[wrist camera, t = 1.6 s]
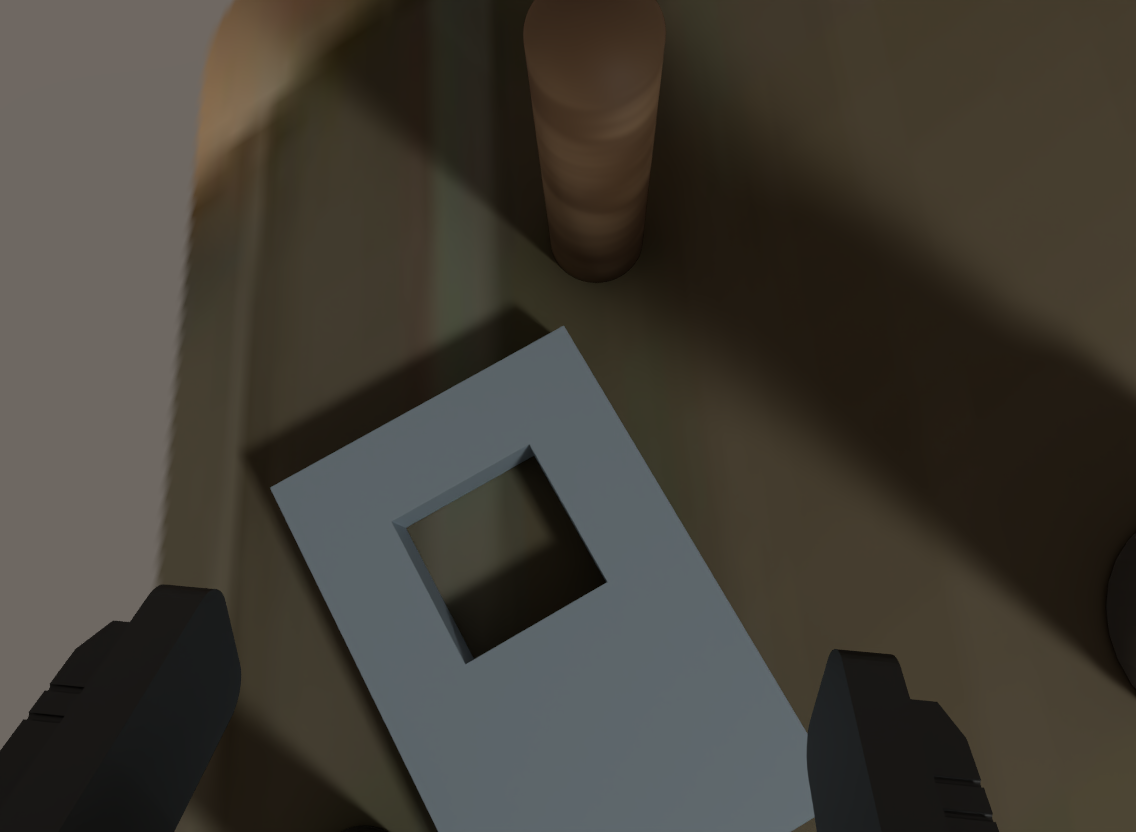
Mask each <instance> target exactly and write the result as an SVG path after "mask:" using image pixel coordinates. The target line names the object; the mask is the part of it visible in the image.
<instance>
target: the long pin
mask: <svg viewBox="0 0 1136 832" xmlns="http://www.w3.org/2000/svg"><path fill="white" fill-rule="evenodd" d="M665 38H666V26H665V20H664V16H663V13H662V11H661V8H660V6H659V4H658V3H657V1H656V0H534V2H533V3H532V5H531V7H530V8H529V10H528V13H527V15H526V18H525V22H524V29H523V41H524V49H525V56H526V64H527V71H528V78H529V86H530V93H531V101H532V108H533V115H534V123H535V130H536V138H537V145H538V153H539V160H540V167H541V175H542V182H543V190H544V197H545V204H546V212H547V219H548V227H549V234H550V241H551V248H552V252H553V255H554V257H555V259H556V261H557V262H558V264H559V265H560V267H561V268H562V269H563V270H564V271H566V272H567V273H568V274H569V275H571V276H573V277H575V278H577V279H579V280H582V281H586V282H593V283H599V282H607V281H610V280H613V279H616V278H618V277H620V276H622V275H623V274H625V273H626V272H627V271H628V270H629V269H630V268H631V267H632V266H633V265H634V264H635V262H636V261H637V259H638V257H639V255H640V252H641V248H642V242H643V233H644V225H645V216H646V207H647V198H648V189H649V180H650V171H651V163H652V154H653V145H654V136H655V127H656V118H657V110H658V101H659V92H660V83H661V74H662V65H663V56H664V48H665Z"/></svg>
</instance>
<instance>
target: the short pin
mask: <svg viewBox="0 0 1136 832" xmlns="http://www.w3.org/2000/svg"><path fill="white" fill-rule="evenodd" d="M341 832H387V831H386V830H383V829H381V828H378V827H374V826H356V827H351V828H348V829H345V830H343V831H341Z"/></svg>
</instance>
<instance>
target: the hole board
mask: <svg viewBox="0 0 1136 832" xmlns="http://www.w3.org/2000/svg"><path fill="white" fill-rule="evenodd" d="M532 456H535V458H536V460H537V461H538V463H539V465H540V467H541V469H542V470H543V472H544V474H545V476H546V477H547V479H548V481H549V483H550V484H551V486H552V488H553V490H554V491H555V493H556V495H557V497H558V499H559V500H560V502H561V504H562V506H563V507H564V509H565V511H566V513H567V514H568V516H569V518H570V520H571V521H572V523H573V525H574V527H575V528H576V530H577V532H578V534H579V536H580V537H581V539H582V541H583V543H584V544H585V546H586V548H587V550H588V551H589V553H590V555H591V557H592V558H593V560H594V562H595V564H596V566H597V567H598V569H599V571H600V573H601V574H602V576H603V578H604V580H605V581H606V583H605V584H603V585H602V586H600V587H598V588H596V589H595V590H593V591H591V592H590V593H588V594H586V595H584V596H583V597H581V598H579V599H577V600H576V601H574V602H572V603H571V604H569V605H567V606H565V607H564V608H562V609H560V610H558V611H557V612H555V613H553V614H552V615H550V616H548V617H546V618H545V619H543V620H541V621H540V622H538V623H536V624H534V625H533V626H531V627H529V628H527V629H526V630H524V631H522V632H521V633H519V634H517V635H515V636H514V637H512V638H510V639H508V640H507V641H505V642H503V643H502V644H500V645H498V646H496V647H495V648H493V649H491V650H490V651H488V652H486V653H484V654H483V655H481V656H479V657H477V658H476V659H474V658H473V656H472V654H471V652H470V650H469V649H468V647H467V645H466V643H465V641H464V639H463V637H462V635H461V633H460V631H459V629H458V627H457V625H456V624H455V622H454V620H453V618H452V616H451V614H450V612H449V610H448V608H447V606H446V604H445V602H444V601H443V599H442V597H441V595H440V593H439V591H438V589H437V587H436V585H435V583H434V581H433V579H432V577H431V576H430V574H429V572H428V570H427V568H426V566H425V564H424V562H423V560H422V558H421V556H420V554H419V553H418V551H417V549H416V547H415V545H414V543H413V541H412V539H411V537H410V535H409V533H408V531H407V529H406V527H408V526H410V525H412V524H413V523H415V522H417V521H419V520H421V519H422V518H424V517H426V516H428V515H429V514H431V513H433V512H435V511H437V510H438V509H440V508H442V507H444V506H445V505H447V504H449V503H451V502H453V501H454V500H456V499H458V498H460V497H461V496H463V495H465V494H467V493H469V492H470V491H472V490H474V489H476V488H477V487H479V486H481V485H483V484H485V483H486V482H488V481H490V480H492V479H493V478H495V477H497V476H499V475H501V474H502V473H504V472H506V471H508V470H509V469H511V468H513V467H515V466H516V465H518V464H520V463H522V462H524V461H525V460H527V459H529V458H531V457H532ZM270 489H271V491H272V493H273V495H274V497H275V499H276V501H277V503H278V505H279V507H280V509H281V511H282V513H283V515H284V517H285V520H286V522H287V524H288V526H289V528H290V530H291V532H292V534H293V536H294V538H295V540H296V542H297V544H298V546H299V548H300V550H301V552H302V554H303V556H304V558H305V560H306V562H307V564H308V567H309V569H310V571H311V573H312V575H313V577H314V579H315V581H316V583H317V585H318V587H319V589H320V591H321V593H322V595H323V597H324V599H325V601H326V603H327V605H328V607H329V609H330V611H331V614H332V616H333V618H334V620H335V622H336V624H337V626H338V628H339V630H340V632H341V634H342V636H343V638H344V640H345V642H346V644H347V646H348V648H349V650H350V652H351V654H352V656H353V659H354V661H355V663H356V665H357V667H358V669H359V671H360V673H361V675H362V677H363V679H364V681H365V683H366V685H367V687H368V689H369V691H370V693H371V695H372V697H373V699H374V701H375V703H376V706H377V708H378V710H379V712H380V714H381V716H382V718H383V720H384V722H385V724H386V726H387V728H388V730H389V732H390V734H391V736H392V738H393V740H394V742H395V744H396V746H397V748H398V750H399V753H400V755H401V757H402V759H403V761H404V763H405V765H406V767H407V769H408V771H409V773H410V775H411V777H412V779H413V781H414V783H415V785H416V787H417V789H418V791H419V793H420V795H421V798H422V800H423V802H424V804H425V806H426V808H427V810H428V812H429V814H430V816H431V818H432V820H433V822H434V824H435V826H436V828H437V830H438V832H791V831H792V830H794V829H796V828H797V827H799V826H801V825H802V824H804V823H805V822H807V821H809V820H810V819H812V818H814V817H815V816H814V810H813V803H812V797H811V791H810V785H809V779H808V771H807V736H808V734H807V733H806V731H805V729H804V728H803V726H802V724H801V722H800V721H799V719H798V717H797V716H796V714H795V712H794V711H793V709H792V707H791V706H790V704H789V702H788V701H787V699H786V697H785V696H784V694H783V692H782V691H781V689H780V687H779V686H778V684H777V682H776V681H775V679H774V677H773V676H772V674H771V672H770V671H769V669H768V667H767V665H766V664H765V662H764V660H763V659H762V657H761V655H760V654H759V652H758V650H757V649H756V647H755V645H754V644H753V642H752V640H751V639H750V637H749V635H748V634H747V632H746V630H745V629H744V627H743V625H742V624H741V622H740V620H739V619H738V617H737V615H736V614H735V612H734V610H733V609H732V607H731V605H730V603H729V602H728V600H727V598H726V597H725V595H724V593H723V592H722V590H721V588H720V587H719V585H718V583H717V582H716V580H715V578H714V577H713V575H712V573H711V572H710V570H709V568H708V567H707V565H706V563H705V562H704V560H703V558H702V557H701V555H700V553H699V552H698V550H697V548H696V546H695V545H694V543H693V541H692V540H691V538H690V536H689V535H688V533H687V531H686V530H685V528H684V526H683V525H682V523H681V521H680V520H679V518H678V516H677V515H676V513H675V511H674V510H673V508H672V506H671V505H670V503H669V501H668V500H667V498H666V496H665V495H664V493H663V491H662V490H661V488H660V486H659V484H658V483H657V481H656V479H655V478H654V476H653V474H652V473H651V471H650V469H649V468H648V466H647V464H646V463H645V461H644V459H643V458H642V456H641V454H640V453H639V451H638V449H637V448H636V446H635V444H634V443H633V441H632V439H631V438H630V436H629V434H628V433H627V431H626V429H625V427H624V426H623V424H622V422H621V421H620V419H619V417H618V416H617V414H616V412H615V411H614V409H613V407H612V406H611V404H610V402H609V401H608V399H607V397H606V396H605V394H604V392H603V391H602V389H601V387H600V386H599V384H598V382H597V381H596V379H595V377H594V376H593V374H592V372H591V371H590V369H589V367H588V365H587V364H586V362H585V360H584V359H583V357H582V355H581V354H580V352H579V350H578V349H577V347H576V345H575V344H574V342H573V340H572V339H571V337H570V335H569V334H568V332H567V330H566V329H565V327H564V326H562V327H560V328H559V329H557V330H555V331H553V332H551V333H550V334H548V335H546V336H544V337H542V338H541V339H539V340H537V341H535V342H533V343H531V344H530V345H528V346H526V347H524V348H522V349H521V350H519V351H517V352H515V353H513V354H512V355H510V356H508V357H506V358H504V359H502V360H501V361H499V362H497V363H495V364H493V365H492V366H490V367H488V368H486V369H484V370H482V371H481V372H479V373H477V374H475V375H473V376H472V377H470V378H468V379H466V380H464V381H463V382H461V383H459V384H457V385H455V386H453V387H452V388H450V389H448V390H446V391H444V392H443V393H441V394H439V395H437V396H435V397H434V398H432V399H430V400H428V401H426V402H424V403H423V404H421V405H419V406H417V407H415V408H414V409H412V410H410V411H408V412H406V413H405V414H403V415H401V416H399V417H397V418H395V419H394V420H392V421H390V422H388V423H386V424H385V425H383V426H381V427H379V428H377V429H376V430H374V431H372V432H370V433H368V434H366V435H365V436H363V437H361V438H359V439H357V440H356V441H354V442H352V443H350V444H348V445H347V446H345V447H343V448H341V449H339V450H337V451H336V452H334V453H332V454H330V455H328V456H327V457H325V458H323V459H321V460H319V461H318V462H316V463H314V464H312V465H310V466H308V467H307V468H305V469H303V470H301V471H299V472H298V473H296V474H294V475H292V476H290V477H288V478H287V479H285V480H283V481H281V482H279V483H278V484H276V485H274V486H272V487H270Z"/></svg>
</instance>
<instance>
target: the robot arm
mask: <svg viewBox="0 0 1136 832" xmlns="http://www.w3.org/2000/svg"><path fill="white" fill-rule="evenodd" d="M1106 612H1107V620H1108V628H1109V635H1110V638H1111V641H1112V644H1113V647H1114V650H1115V653H1116V656H1117V659H1118V661H1119V662H1120V664H1121V666H1122V668H1123V670H1124V671H1125V673H1126V675H1127V677H1128V679H1129V680H1130V682H1131V684H1132V685H1133V686H1134V687H1135V689H1136V533H1135V534H1134V535H1133V536H1132V537H1131V538H1130V539H1129V540H1128V541H1127V543H1126V545H1125V546H1124V548H1123V549H1122V551H1121V553H1120V554H1119V556H1118V557H1117V559H1116V561H1115V564H1114V567H1113V570H1112V573H1111V576H1110V579H1109V582H1108V592H1107V603H1106ZM240 685H241V667H240V662H239V658H238V653H237V649H236V645H235V640H234V636H233V632H232V628H231V623H230V619H229V615H228V610H227V606H226V602H225V598H224V596H223V594H222V593H221V591H219V590H217V589H207V588H196V587H185V586H175V585H159V586H158V587H156V588H155V589H154V590H153V591H152V592H151V593H150V594H149V596H148V597H147V598H146V600H145V601H144V603H143V604H142V606H141V607H140V609H139V610H138V611H137V613H136V614H135V616H134V617H133V619H132V620H131V621H130V622H122V621H112V622H111V623H109V624H108V625H107V626H105V627H104V628H103V629H101V630H100V631H99V632H97V633H96V634H95V635H93V636H92V637H91V638H90V639H88V640H87V641H86V642H84V643H83V644H82V645H80V646H79V647H78V648H76V649H75V651H74V652H73V653H72V655H71V656H70V657H69V659H68V660H67V661H66V663H65V664H64V665H63V667H62V668H61V670H60V671H59V672H58V673H57V675H56V676H55V678H54V679H53V680H52V682H51V683H50V688H49V690H48V691H44V693H43V694H42V695H41V696H40V698H39V699H38V700H37V702H36V703H35V705H34V706H33V707H32V709H31V710H30V711H29V717H28V719H27V720H23V721H22V722H21V724H20V725H19V726H18V727H17V729H16V730H15V732H14V733H13V734H12V736H11V737H10V738H9V740H8V741H7V742H6V744H5V745H4V746H3V748H2V749H1V750H0V832H174V831H175V829H176V827H177V825H178V823H179V821H180V819H181V817H182V815H183V813H184V811H185V809H186V807H187V805H188V803H189V801H190V799H191V797H192V795H193V793H194V791H195V789H196V787H197V785H198V783H199V781H200V779H201V777H202V775H203V773H204V771H205V769H206V767H207V765H208V763H209V761H210V759H211V757H212V755H213V753H214V751H215V749H216V747H217V745H218V743H219V741H220V739H221V737H222V735H223V733H224V731H225V729H226V727H227V725H228V723H229V721H230V719H231V717H232V715H233V712H234V710H235V707H236V704H237V700H238V696H239V692H240ZM807 771H808V779H809V785H810V791H811V797H812V803H813V810H814V816H815V822H816V828H817V832H999V830H998V827H997V824H996V822H993V820H992V814H993V813H992V810H991V807H990V804H989V802H988V799H987V796H986V793H985V790H984V788H981V785H980V781H981V779H980V776H979V773H978V770H977V767H976V764H975V762H974V759H973V756H972V753H971V750H970V747H969V744H968V742H967V739H966V737H965V736H964V735H963V734H962V732H961V731H960V730H959V729H958V727H957V726H956V725H955V724H954V722H953V721H952V720H951V719H950V717H949V716H948V715H947V714H946V712H945V711H944V710H943V709H942V707H941V706H940V705H939V704H938V702H932V701H922V700H912V699H910V697H909V694H908V690H907V687H906V684H905V680H904V677H903V674H902V670H901V667H900V664H899V662H898V660H897V658H896V657H895V656H894V655H891V654H881V653H870V652H859V651H849V650H838V649H834V650H832V652H831V653H830V655H829V658H828V661H827V664H826V668H825V671H824V675H823V678H822V682H821V685H820V689H819V692H818V696H817V699H816V703H815V706H814V710H813V713H812V717H811V720H810V724H809V729H808V736H807Z"/></svg>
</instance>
